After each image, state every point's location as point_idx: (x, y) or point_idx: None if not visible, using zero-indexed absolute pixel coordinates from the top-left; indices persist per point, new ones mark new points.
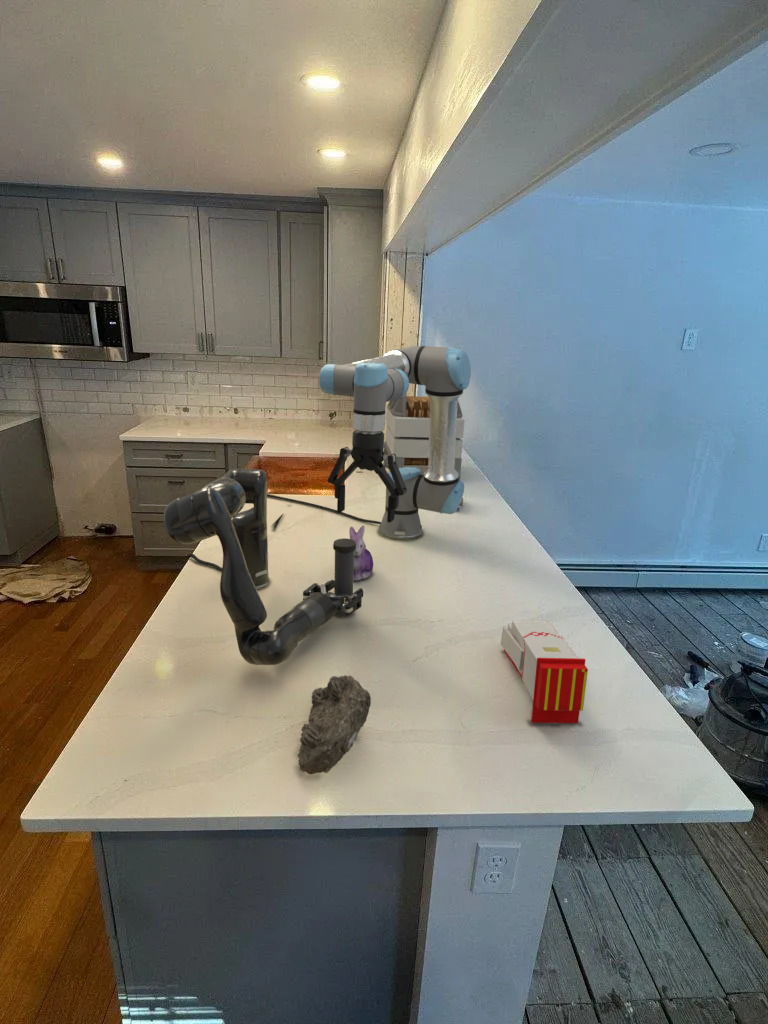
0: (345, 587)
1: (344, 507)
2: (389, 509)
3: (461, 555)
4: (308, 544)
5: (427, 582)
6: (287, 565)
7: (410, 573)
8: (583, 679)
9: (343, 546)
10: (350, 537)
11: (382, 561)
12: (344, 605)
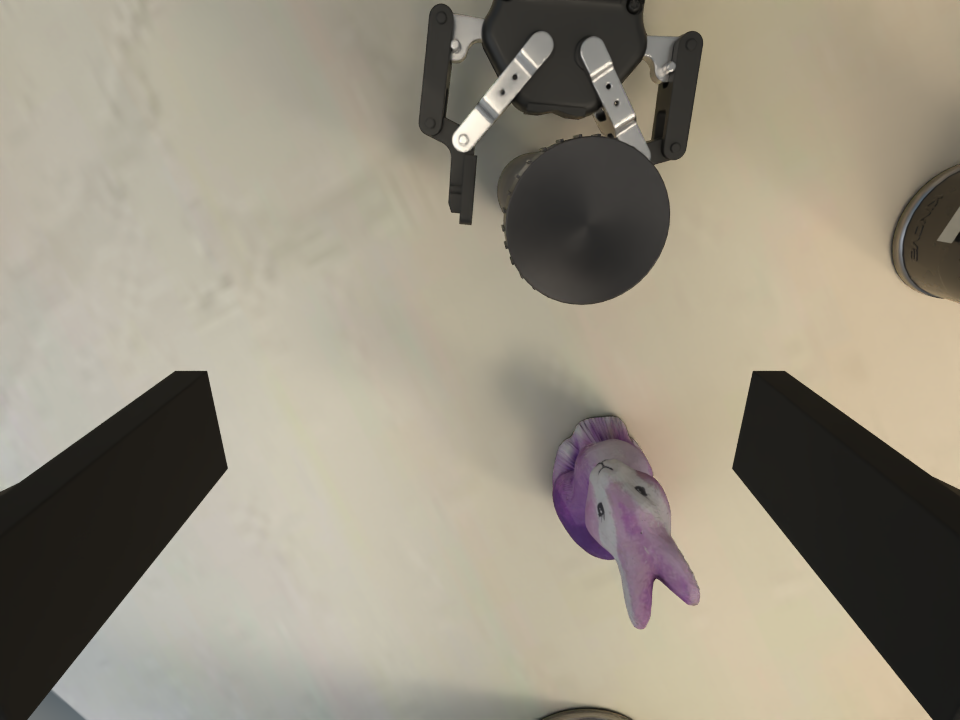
0: (521, 161)
1: (745, 477)
2: (92, 444)
3: (348, 698)
4: None
5: (363, 510)
6: (867, 414)
7: (438, 540)
8: None
9: (566, 151)
10: (669, 538)
11: (556, 573)
12: (469, 39)
